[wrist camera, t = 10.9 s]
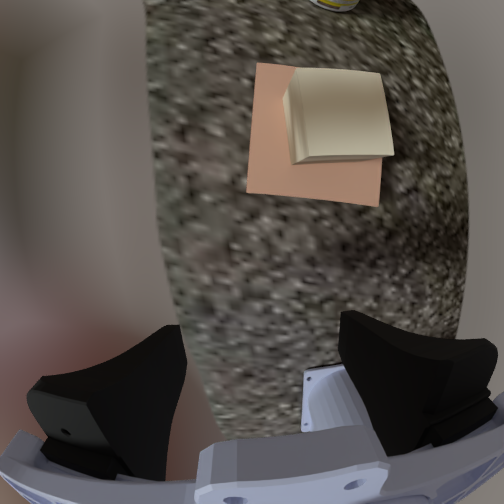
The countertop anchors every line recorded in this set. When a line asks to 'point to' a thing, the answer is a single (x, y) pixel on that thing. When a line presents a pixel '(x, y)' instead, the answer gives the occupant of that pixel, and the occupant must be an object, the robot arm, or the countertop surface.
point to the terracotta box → (278, 156)
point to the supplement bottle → (336, 4)
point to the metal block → (336, 116)
